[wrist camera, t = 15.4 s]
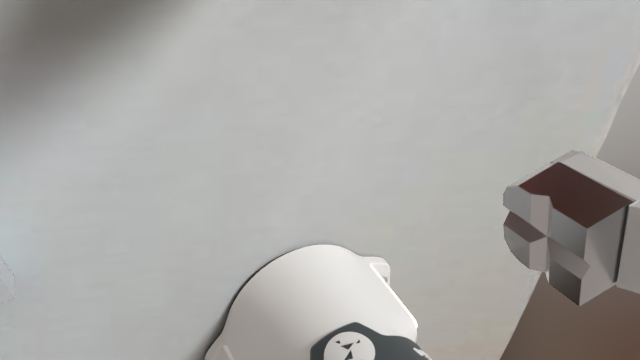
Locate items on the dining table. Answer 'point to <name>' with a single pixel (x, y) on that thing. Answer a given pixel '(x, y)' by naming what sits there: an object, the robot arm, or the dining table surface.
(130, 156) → the dining table surface
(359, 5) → the dining table surface
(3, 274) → the dock
